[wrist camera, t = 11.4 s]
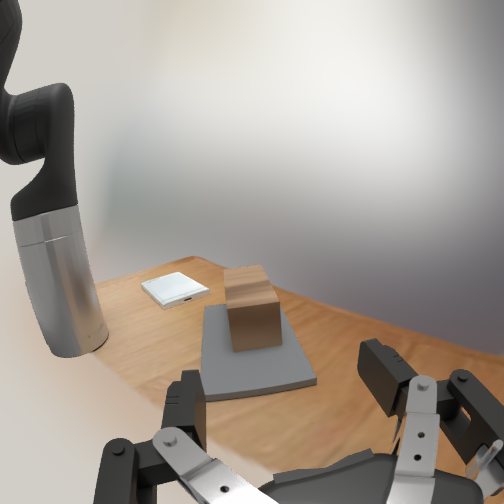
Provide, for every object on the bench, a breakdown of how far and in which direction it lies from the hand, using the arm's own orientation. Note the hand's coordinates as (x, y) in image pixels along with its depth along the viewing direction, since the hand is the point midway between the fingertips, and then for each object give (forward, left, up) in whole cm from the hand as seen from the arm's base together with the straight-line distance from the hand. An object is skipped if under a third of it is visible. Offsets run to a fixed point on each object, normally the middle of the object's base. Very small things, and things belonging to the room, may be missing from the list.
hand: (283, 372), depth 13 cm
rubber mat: (-6, +15, -9) cm, 18 cm away
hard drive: (-23, +29, -9) cm, 38 cm away
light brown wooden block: (-5, +13, -5) cm, 14 cm away
